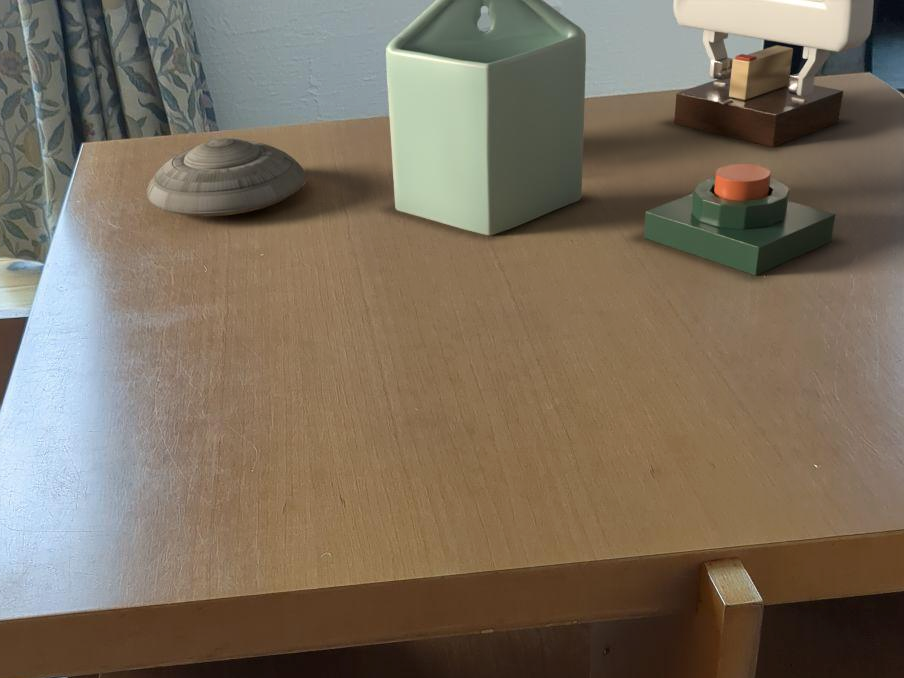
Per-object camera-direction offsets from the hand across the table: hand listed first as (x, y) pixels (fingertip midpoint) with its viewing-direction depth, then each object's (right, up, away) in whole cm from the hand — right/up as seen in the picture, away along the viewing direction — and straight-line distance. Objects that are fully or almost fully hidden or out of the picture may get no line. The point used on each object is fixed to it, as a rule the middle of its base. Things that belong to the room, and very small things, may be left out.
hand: (759, 86), depth 112 cm
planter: (-28, -17, -13) cm, 35 cm away
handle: (0, 0, 0) cm, 0 cm away
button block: (-9, -21, -21) cm, 31 cm away
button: (-9, -18, -23) cm, 31 cm away
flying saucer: (-51, -12, -4) cm, 53 cm away
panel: (0, -3, +2) cm, 4 cm away
